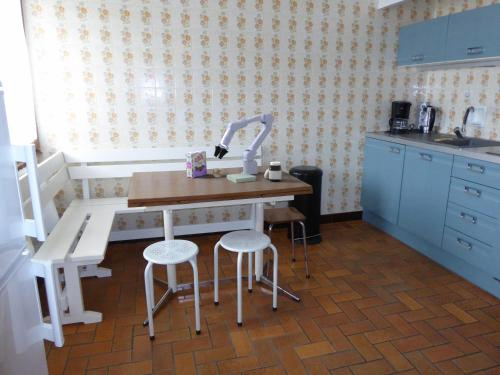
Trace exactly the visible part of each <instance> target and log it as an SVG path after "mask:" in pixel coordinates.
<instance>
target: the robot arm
mask: <svg viewBox="0 0 500 375" xmlns="http://www.w3.org/2000/svg"><path fill="white" fill-rule="evenodd" d="M258 121H259V122H260V123H261V126H262V129H260V130H261V131H259V133H258V134H257V136H256V137H255V139H254V140H253V141H252V142H251V145H250V146H248V147H247V148H245V150H243V151H242V152H241V158H242V161H243V162H242V168H243V169H242V171H241V172H240V174H241V173H247V174H250V175H255V174H259V172H258V162H257V160H255V159H256V155H257V153H258V152H257V150H258V149H259V148H260V146H261V145H262V144H263V142H264V141H265V140H266V139H267V137H268V135H269V134H270V132H272V128H273V124H274V121H275V119H274V116H273V114H272V113H265V112H262V113H259V114H256V115H254V116H251V117H249V118H247V119H246V118H242V117H241V118H240V119H238V120H234V121H233V122H230V123H228V124H227V125H226V126H227V127H226V130H225V131H224V134H223V137H222V138H221V140H220V142H217V145H215V146H214V152H213V153H214V154H213V157H215V158H218V159H220V160H222V159H223V157H225V156H226V154H228V153H229V149H230V147H229V145H230V143H231V141H232V139H233V137H234V135H235V134H236V133H237V132H238V131H239V130H241V129H244V128H247V127H248V125H249V124H252V123H253V124H254V123H256V122H258Z"/></svg>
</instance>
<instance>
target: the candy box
mask: <svg viewBox="0 0 500 375" xmlns="http://www.w3.org/2000/svg"><path fill="white" fill-rule="evenodd" d="M185 164H186V165H185V169H186V178H191V179H195V178H198V177H203V176H207V175H208V174H207V173H208V171H207V168H208V167H207V152H206V150H205V151H204V150H197V151H196V150H195V151H190V152H186V153H185Z"/></svg>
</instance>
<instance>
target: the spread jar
mask: <svg viewBox="0 0 500 375" xmlns="http://www.w3.org/2000/svg"><path fill="white" fill-rule="evenodd" d="M281 164H282V162H281V161H270V162H269V167H268V168H267V169H266V170H265V172H264V174H263V177H264V179H266V180H268V179H269V181H270V182H274V183H275V182H277V183H278V182H282V173H283V172H282V165H281Z"/></svg>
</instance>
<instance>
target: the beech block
mask: <svg viewBox="0 0 500 375" xmlns="http://www.w3.org/2000/svg"><path fill="white" fill-rule="evenodd" d="M223 172H224V169H222V168H220V167H218V168H212V176H213V177H214V178H222V177H223V176H224V173H223Z"/></svg>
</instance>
